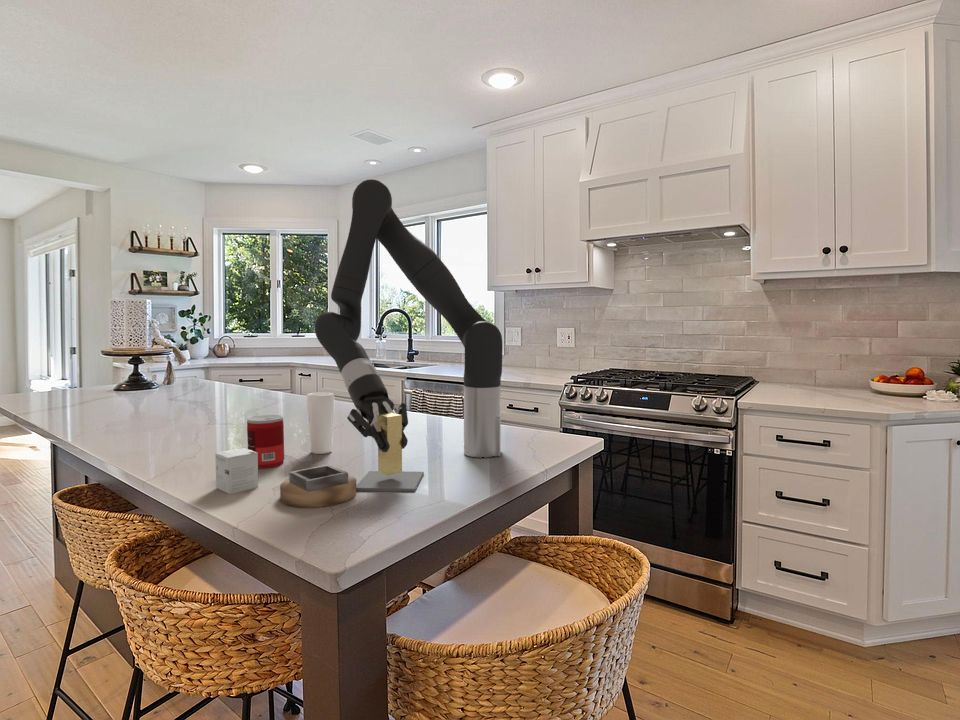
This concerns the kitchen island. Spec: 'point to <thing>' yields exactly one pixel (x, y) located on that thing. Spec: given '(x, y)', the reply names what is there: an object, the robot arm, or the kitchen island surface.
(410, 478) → the mat
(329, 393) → the drinking glass
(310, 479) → the copper round socket base
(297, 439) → the kitchen island surface
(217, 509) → the kitchen island surface
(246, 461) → the skincare box
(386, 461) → the brass bar
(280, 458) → the canned food
